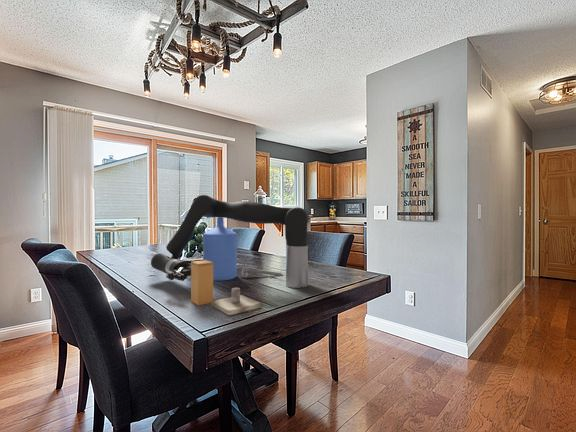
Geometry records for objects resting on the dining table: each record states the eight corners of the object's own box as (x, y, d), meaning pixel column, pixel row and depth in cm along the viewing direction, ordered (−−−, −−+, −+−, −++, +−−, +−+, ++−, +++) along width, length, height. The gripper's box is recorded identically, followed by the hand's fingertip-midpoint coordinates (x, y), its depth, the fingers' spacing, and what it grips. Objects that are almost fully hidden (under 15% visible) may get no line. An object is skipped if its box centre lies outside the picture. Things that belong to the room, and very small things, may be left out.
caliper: (241, 278, 145) (241, 265, 145) (241, 277, 146) (241, 264, 146) (283, 276, 150) (283, 263, 150) (283, 275, 151) (283, 262, 151)
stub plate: (241, 298, 112) (241, 282, 111) (260, 307, 103) (260, 289, 102) (210, 305, 104) (210, 288, 104) (229, 315, 95) (229, 296, 95)
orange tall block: (205, 298, 112) (206, 260, 111) (213, 302, 108) (213, 262, 107) (191, 301, 108) (191, 261, 108) (198, 305, 104) (198, 264, 104)
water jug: (227, 282, 135) (227, 218, 134) (196, 279, 140) (196, 218, 139) (242, 275, 150) (242, 217, 149) (213, 272, 155) (213, 217, 154)
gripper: (159, 262, 120) (175, 268, 108) (194, 258, 129) (212, 263, 117) (159, 281, 120) (175, 289, 108) (194, 275, 129) (212, 283, 117)
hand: (194, 276), depth 112 cm, fingers open, 8 cm apart
